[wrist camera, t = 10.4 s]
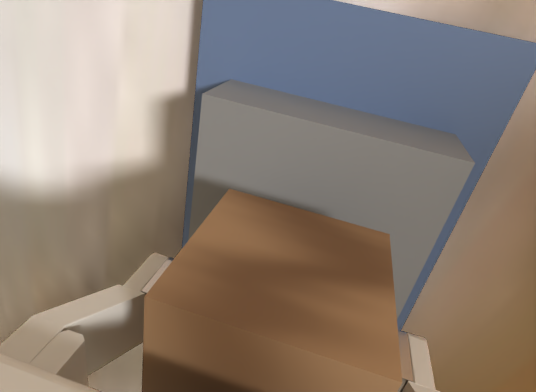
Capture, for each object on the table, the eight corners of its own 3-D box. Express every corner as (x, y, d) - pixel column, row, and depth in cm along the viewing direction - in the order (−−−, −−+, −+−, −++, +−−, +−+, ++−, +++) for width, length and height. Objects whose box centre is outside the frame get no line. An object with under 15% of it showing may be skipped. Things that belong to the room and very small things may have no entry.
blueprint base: (538, 43, 13) (596, 55, 10) (384, 348, 21) (387, 413, 17) (213, -25, 14) (166, -35, 11) (184, 283, 22) (151, 331, 19)
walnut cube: (389, 234, 11) (402, 382, 7) (342, 346, 13) (329, 510, 9) (229, 188, 12) (144, 295, 7) (212, 304, 14) (140, 437, 10)
